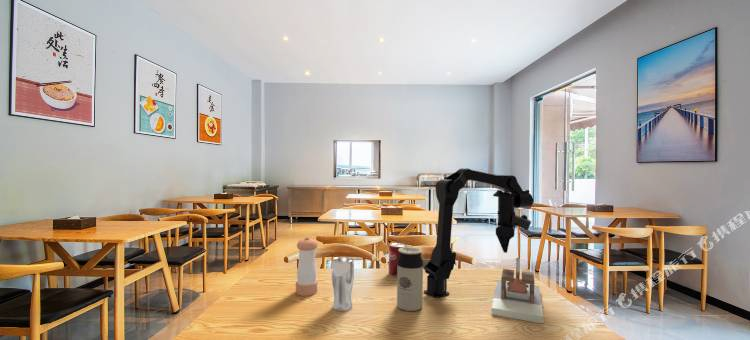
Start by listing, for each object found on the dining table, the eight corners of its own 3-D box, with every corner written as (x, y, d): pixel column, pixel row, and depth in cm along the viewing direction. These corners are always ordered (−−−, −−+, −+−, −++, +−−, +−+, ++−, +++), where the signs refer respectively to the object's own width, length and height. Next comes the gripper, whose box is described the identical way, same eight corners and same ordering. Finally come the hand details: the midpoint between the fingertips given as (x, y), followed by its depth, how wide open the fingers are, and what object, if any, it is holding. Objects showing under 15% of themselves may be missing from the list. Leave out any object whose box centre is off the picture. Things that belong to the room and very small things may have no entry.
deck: (543, 323, 97) (543, 316, 97) (491, 314, 102) (491, 307, 102) (538, 291, 122) (538, 286, 122) (497, 285, 127) (497, 280, 127)
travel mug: (407, 299, 113) (408, 245, 113) (427, 306, 107) (428, 249, 107) (391, 306, 107) (392, 249, 107) (411, 314, 102) (412, 254, 102)
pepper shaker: (291, 294, 116) (292, 238, 116) (303, 287, 123) (304, 234, 123) (309, 297, 114) (310, 240, 113) (321, 290, 120) (321, 236, 120)
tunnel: (533, 304, 105) (534, 281, 105) (501, 298, 109) (501, 277, 109) (532, 293, 115) (533, 272, 115) (502, 288, 118) (502, 268, 118)
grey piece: (528, 300, 108) (529, 265, 107) (506, 297, 110) (506, 262, 110) (528, 292, 115) (528, 259, 115) (507, 289, 117) (507, 256, 117)
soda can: (406, 271, 143) (406, 243, 142) (406, 277, 135) (406, 247, 135) (389, 270, 143) (389, 242, 143) (388, 276, 136) (388, 246, 136)
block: (525, 300, 109) (526, 284, 109) (508, 297, 111) (509, 282, 111) (525, 294, 113) (525, 279, 113) (509, 292, 115) (509, 277, 115)
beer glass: (357, 304, 108) (357, 257, 108) (348, 313, 102) (348, 263, 101) (337, 301, 110) (337, 255, 110) (327, 310, 104) (327, 261, 104)
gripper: (530, 213, 116) (529, 258, 116) (529, 206, 133) (528, 246, 133) (495, 211, 120) (495, 255, 120) (498, 205, 137) (498, 243, 138)
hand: (505, 250), depth 128 cm, fingers open, 8 cm apart
